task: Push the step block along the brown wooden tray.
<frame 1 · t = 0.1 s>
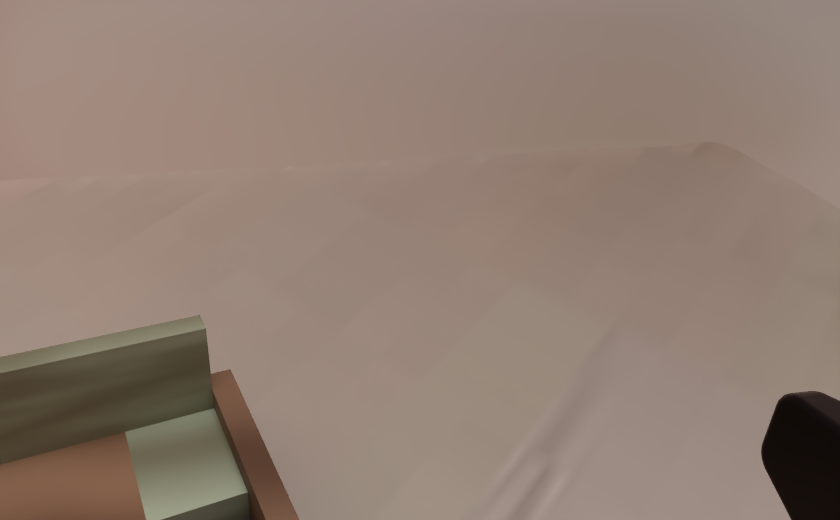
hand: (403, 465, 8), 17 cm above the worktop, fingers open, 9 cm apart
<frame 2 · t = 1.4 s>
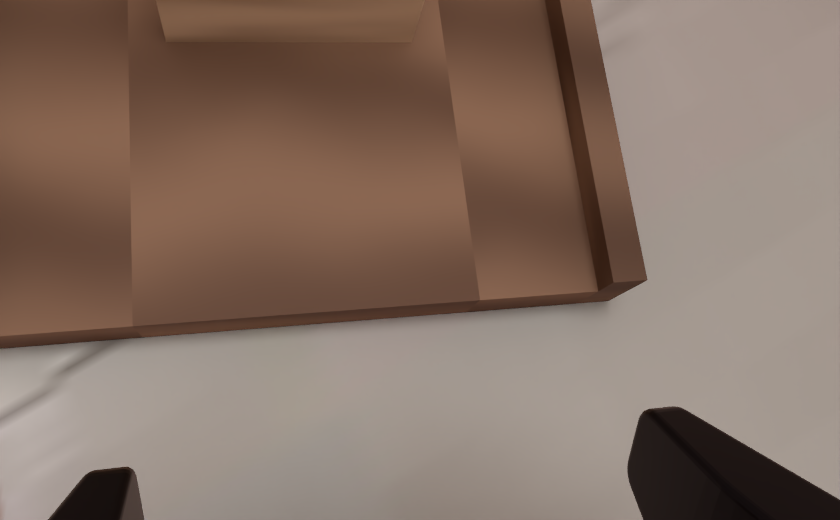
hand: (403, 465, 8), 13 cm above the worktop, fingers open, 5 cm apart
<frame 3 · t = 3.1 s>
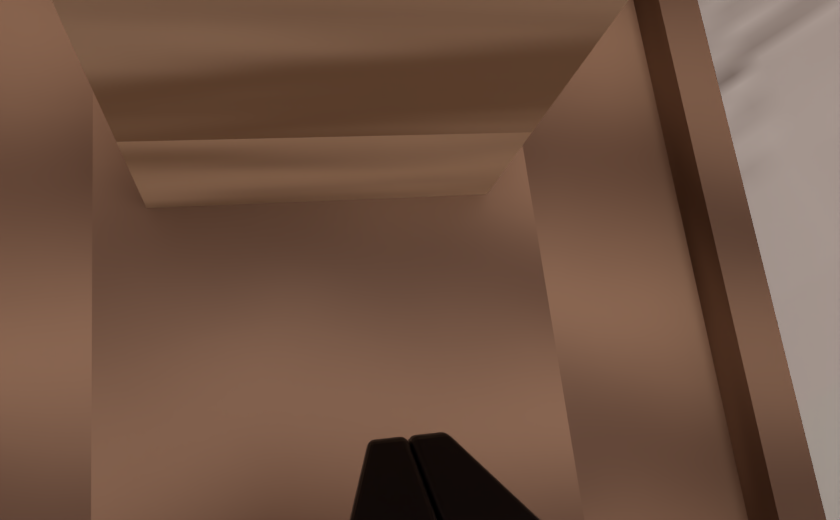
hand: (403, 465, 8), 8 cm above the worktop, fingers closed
step block: (310, 31, 16), point 1 cm above the worktop, touching brown wooden tray
brown wooden tray: (304, 31, 18), on the worktop
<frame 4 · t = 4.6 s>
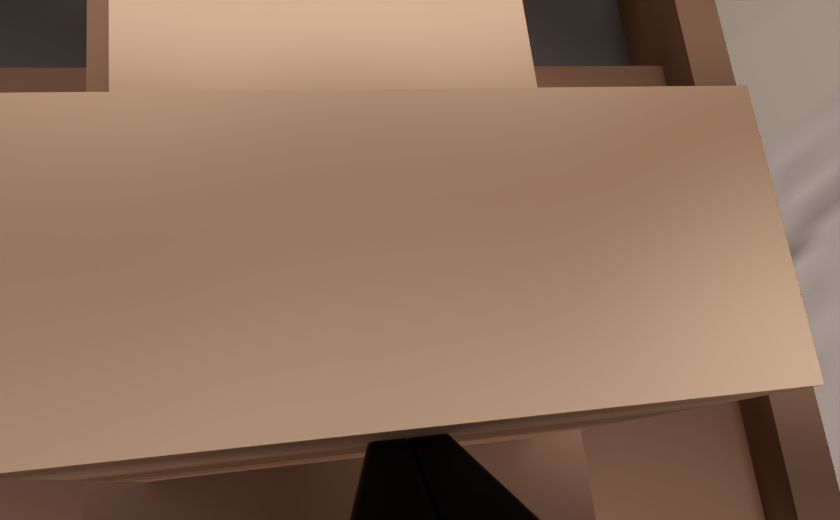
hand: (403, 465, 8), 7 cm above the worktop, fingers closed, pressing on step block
step block: (331, 248, 15), point 2 cm above the worktop, touching gripper
brown wooden tray: (322, 225, 16), on the worktop
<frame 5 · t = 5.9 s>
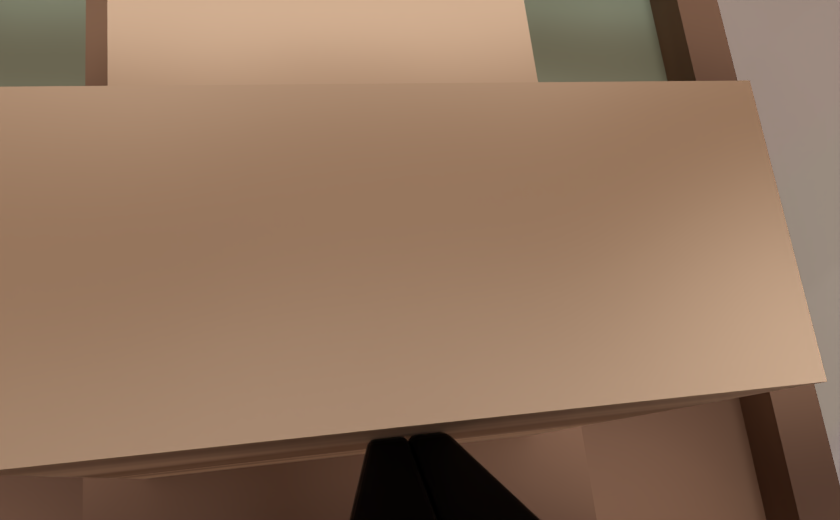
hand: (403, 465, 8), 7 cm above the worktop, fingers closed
step block: (331, 244, 14), point 2 cm above the worktop
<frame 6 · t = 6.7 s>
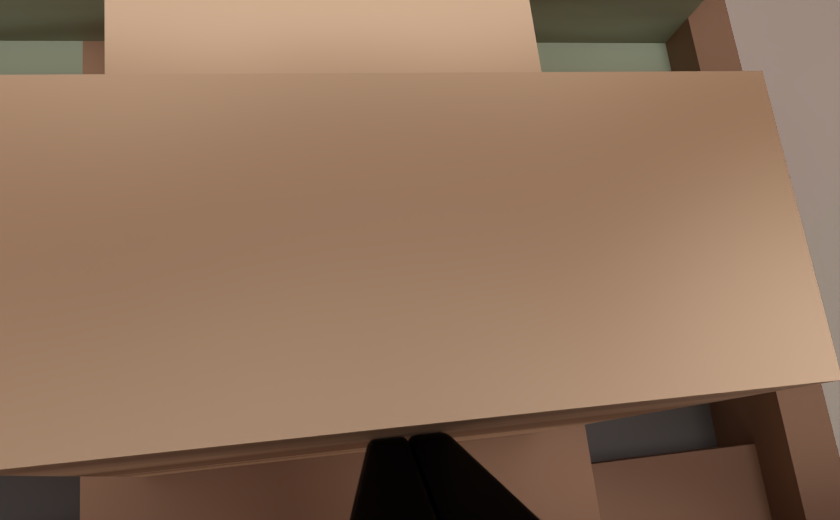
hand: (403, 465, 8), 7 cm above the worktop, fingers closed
step block: (332, 240, 14), point 1 cm above the worktop, touching brown wooden tray
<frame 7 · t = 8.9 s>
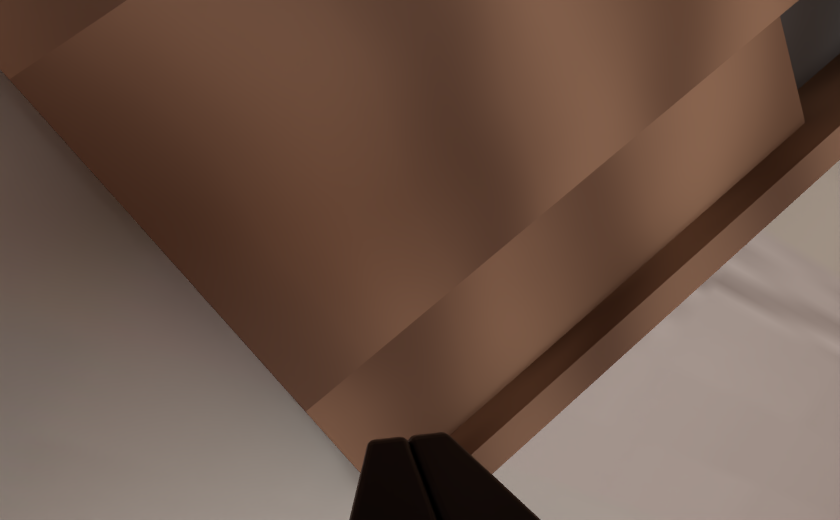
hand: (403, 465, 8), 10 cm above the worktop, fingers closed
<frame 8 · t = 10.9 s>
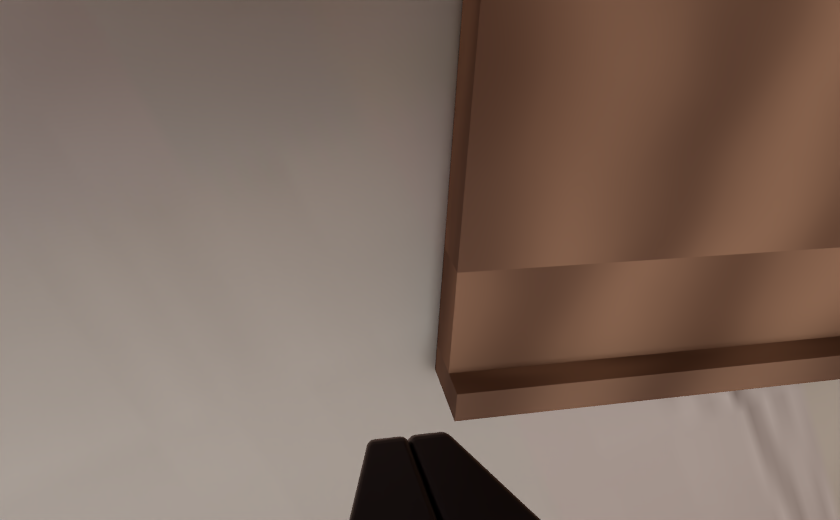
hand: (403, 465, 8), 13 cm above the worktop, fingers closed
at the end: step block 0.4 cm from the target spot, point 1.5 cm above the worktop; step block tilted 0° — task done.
